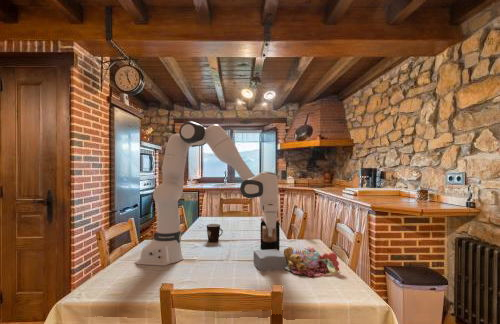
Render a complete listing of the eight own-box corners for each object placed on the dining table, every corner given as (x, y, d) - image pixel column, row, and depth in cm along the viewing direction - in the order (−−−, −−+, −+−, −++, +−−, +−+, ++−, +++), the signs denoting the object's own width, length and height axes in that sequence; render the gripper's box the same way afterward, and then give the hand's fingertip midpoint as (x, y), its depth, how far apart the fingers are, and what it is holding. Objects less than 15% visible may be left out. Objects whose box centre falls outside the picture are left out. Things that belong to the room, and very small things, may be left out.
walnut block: (263, 241, 131) (263, 228, 131) (262, 238, 137) (262, 225, 137) (276, 241, 131) (276, 228, 132) (274, 238, 137) (274, 225, 138)
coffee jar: (258, 253, 153) (258, 219, 154) (262, 247, 164) (262, 216, 164) (278, 254, 151) (278, 220, 151) (280, 248, 161) (280, 217, 161)
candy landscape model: (296, 280, 117) (296, 258, 117) (276, 262, 140) (276, 243, 140) (348, 274, 124) (348, 253, 124) (320, 257, 147) (320, 240, 147)
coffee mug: (204, 240, 179) (204, 224, 180) (217, 238, 183) (217, 223, 183) (210, 244, 169) (210, 228, 169) (223, 243, 172) (223, 226, 173)
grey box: (260, 271, 127) (260, 258, 127) (253, 262, 138) (253, 250, 139) (285, 269, 130) (285, 256, 130) (276, 260, 141) (276, 248, 141)
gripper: (260, 202, 145) (261, 229, 145) (264, 208, 124) (264, 239, 124) (273, 202, 145) (273, 229, 145) (278, 208, 125) (278, 239, 124)
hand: (269, 234), depth 134 cm, fingers closed on walnut block, 6 cm apart
